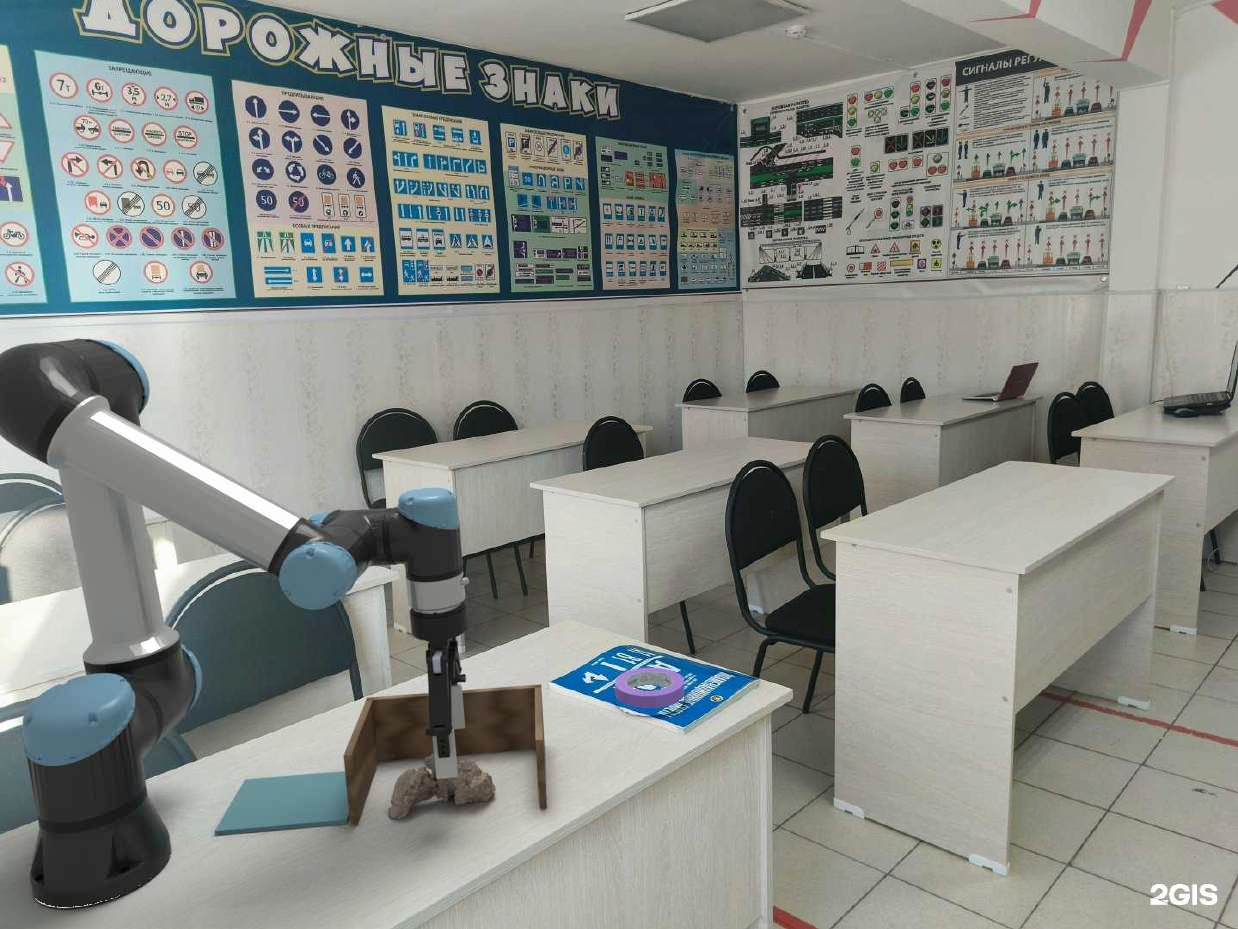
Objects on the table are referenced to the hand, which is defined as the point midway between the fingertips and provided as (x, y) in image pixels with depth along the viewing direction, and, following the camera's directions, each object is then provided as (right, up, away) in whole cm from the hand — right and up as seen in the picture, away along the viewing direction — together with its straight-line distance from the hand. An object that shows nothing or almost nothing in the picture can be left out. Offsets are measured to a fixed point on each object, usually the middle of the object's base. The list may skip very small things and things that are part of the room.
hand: (451, 751), depth 124 cm
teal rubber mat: (-22, -7, +1) cm, 23 cm away
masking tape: (+28, -1, +29) cm, 40 cm away
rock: (-1, -8, -1) cm, 8 cm away
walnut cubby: (0, -6, +5) cm, 8 cm away
